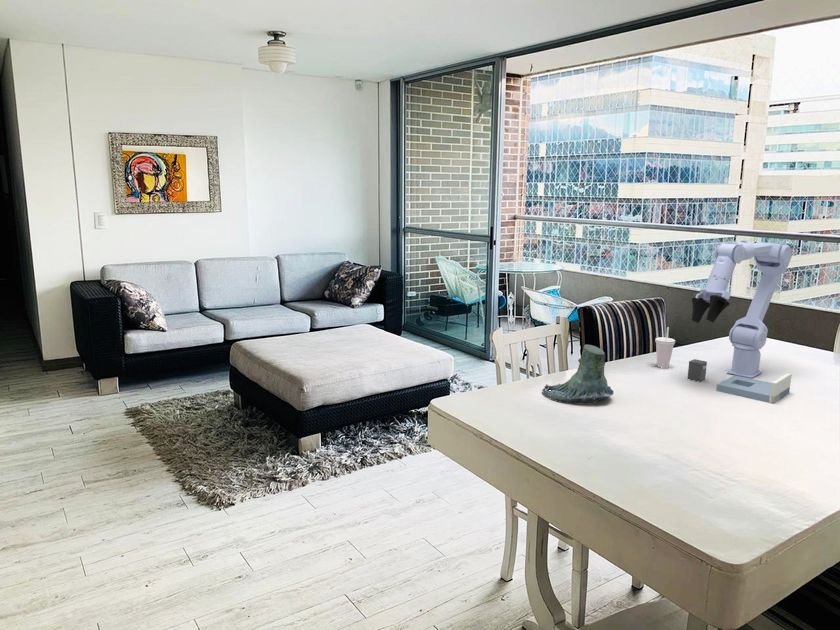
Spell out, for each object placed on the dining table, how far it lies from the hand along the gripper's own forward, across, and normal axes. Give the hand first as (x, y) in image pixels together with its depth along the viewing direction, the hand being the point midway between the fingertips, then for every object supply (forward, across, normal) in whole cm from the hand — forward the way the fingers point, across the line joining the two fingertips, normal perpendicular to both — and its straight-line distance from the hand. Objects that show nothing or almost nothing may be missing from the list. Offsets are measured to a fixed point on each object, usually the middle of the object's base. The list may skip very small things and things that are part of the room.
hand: (702, 321), depth 193 cm
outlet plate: (+13, +1, +23) cm, 26 cm away
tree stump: (+36, -2, -26) cm, 45 cm away
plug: (+15, -12, +12) cm, 23 cm away
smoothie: (+13, -27, +8) cm, 31 cm away
